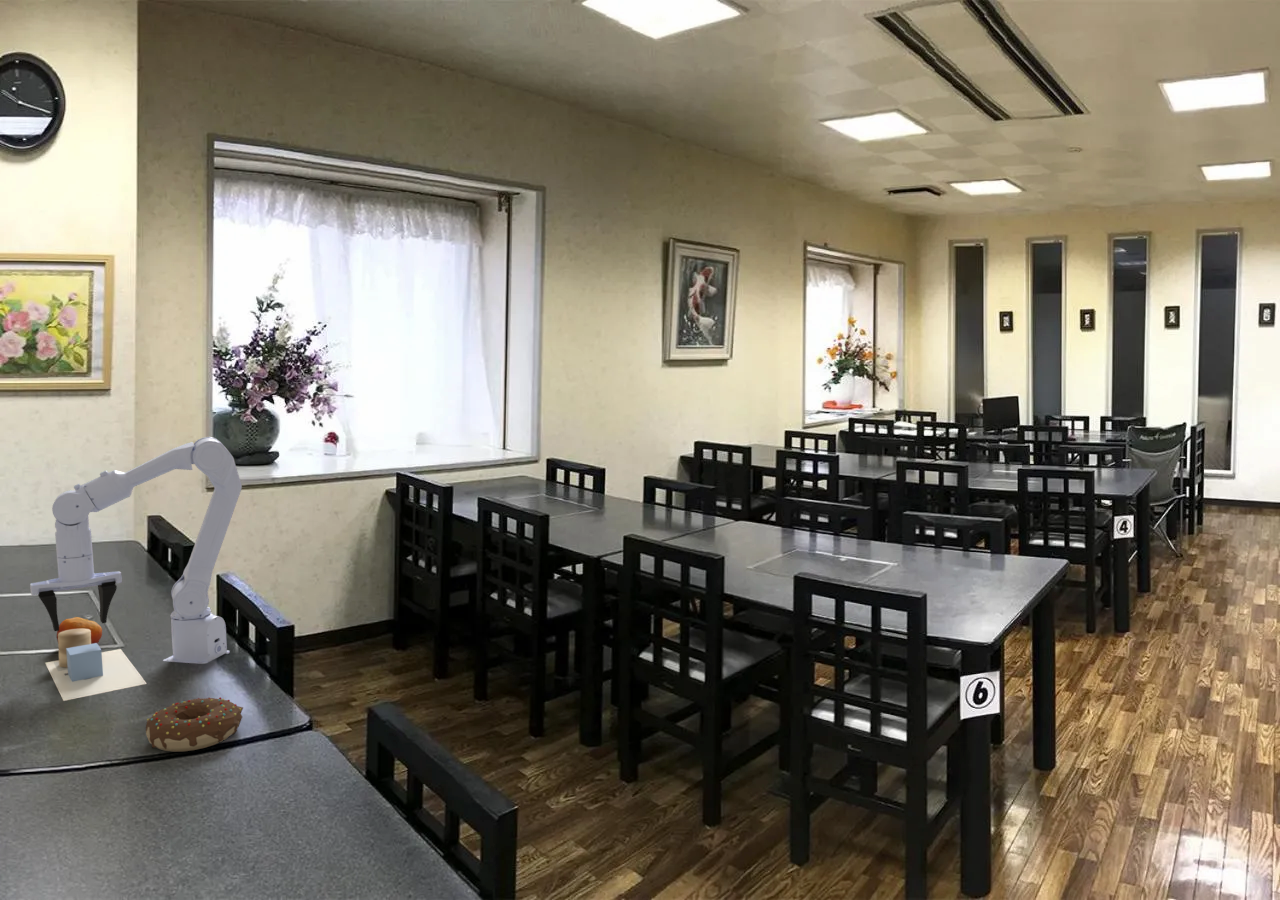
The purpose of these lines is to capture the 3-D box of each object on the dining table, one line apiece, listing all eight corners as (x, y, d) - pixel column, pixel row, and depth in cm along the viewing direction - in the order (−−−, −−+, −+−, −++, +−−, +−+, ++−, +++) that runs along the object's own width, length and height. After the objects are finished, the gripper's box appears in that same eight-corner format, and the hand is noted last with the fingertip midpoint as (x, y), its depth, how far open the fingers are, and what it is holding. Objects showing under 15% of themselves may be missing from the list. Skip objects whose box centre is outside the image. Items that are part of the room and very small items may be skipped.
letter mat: (120, 651, 187) (120, 648, 187) (147, 686, 167) (146, 683, 167) (45, 665, 179) (45, 662, 179) (63, 704, 159) (63, 700, 159)
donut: (154, 765, 136) (152, 733, 136) (140, 734, 147) (138, 704, 147) (255, 741, 145) (254, 710, 144) (235, 713, 156) (233, 685, 155)
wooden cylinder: (92, 656, 182) (91, 627, 181) (90, 665, 177) (89, 635, 176) (60, 660, 179) (59, 630, 179) (57, 668, 175) (56, 638, 174)
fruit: (38, 648, 184) (57, 610, 187) (74, 658, 191) (91, 621, 194) (62, 655, 181) (81, 615, 183) (97, 664, 187) (115, 626, 190)
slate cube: (98, 668, 175) (96, 642, 175) (103, 675, 171) (101, 649, 171) (68, 674, 172) (66, 648, 172) (72, 681, 168) (70, 655, 168)
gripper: (114, 546, 179) (119, 613, 180) (26, 556, 170) (31, 628, 171) (122, 552, 173) (126, 622, 175) (30, 563, 164) (36, 637, 166)
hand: (80, 625), depth 173 cm, fingers open, 7 cm apart
